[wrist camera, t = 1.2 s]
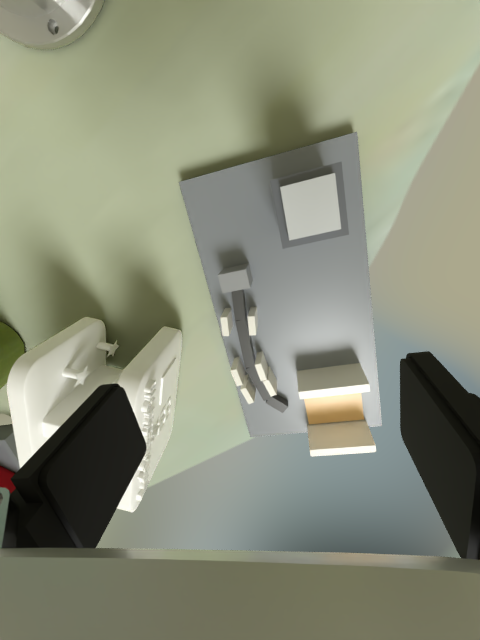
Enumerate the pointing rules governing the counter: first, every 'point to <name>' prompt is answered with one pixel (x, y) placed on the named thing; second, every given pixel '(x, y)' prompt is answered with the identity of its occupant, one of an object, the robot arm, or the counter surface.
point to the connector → (311, 205)
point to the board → (291, 302)
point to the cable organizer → (83, 379)
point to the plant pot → (8, 351)
